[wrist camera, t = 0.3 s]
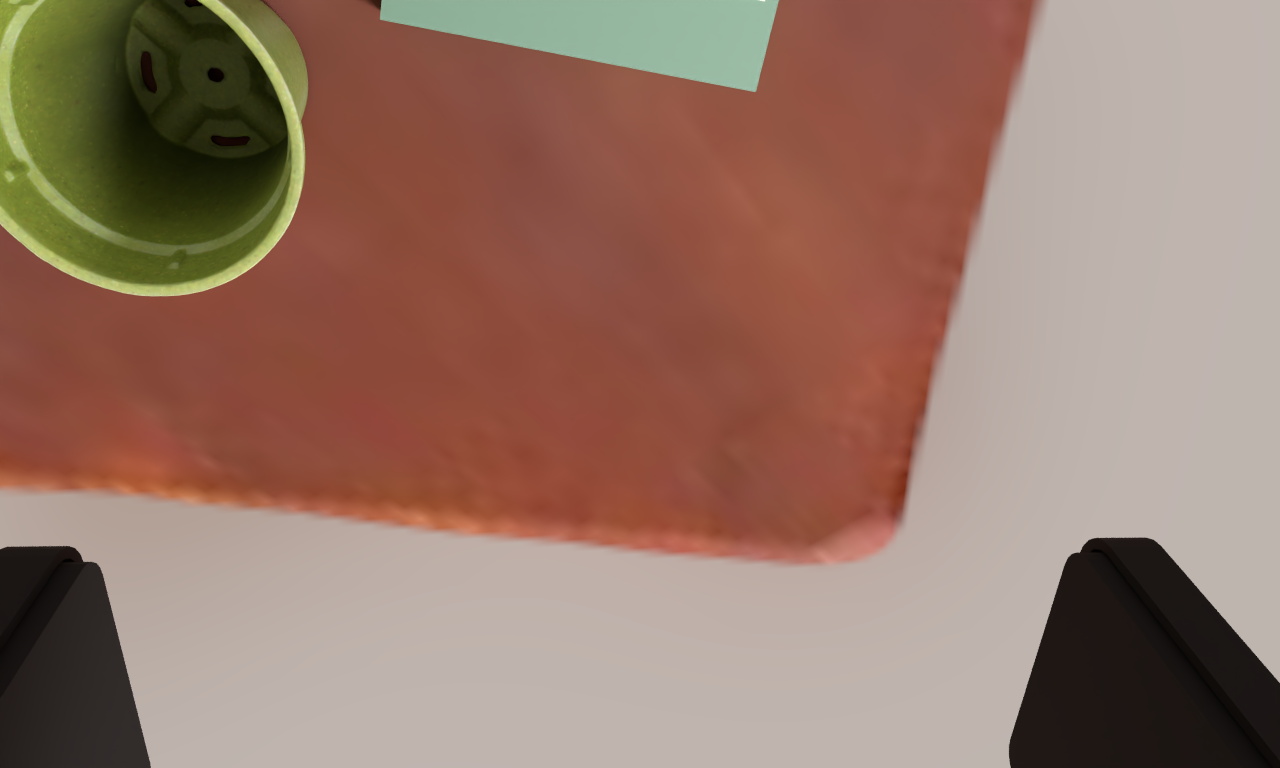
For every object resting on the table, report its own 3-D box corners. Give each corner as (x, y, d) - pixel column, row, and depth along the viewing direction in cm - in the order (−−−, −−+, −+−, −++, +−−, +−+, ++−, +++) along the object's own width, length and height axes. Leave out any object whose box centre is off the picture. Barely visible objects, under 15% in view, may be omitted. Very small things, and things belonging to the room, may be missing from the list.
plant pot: (113, 207, 37) (1, 304, 30) (36, -74, 33) (-119, -45, 25) (372, 197, 38) (328, 290, 30) (332, -80, 33) (268, -54, 26)
